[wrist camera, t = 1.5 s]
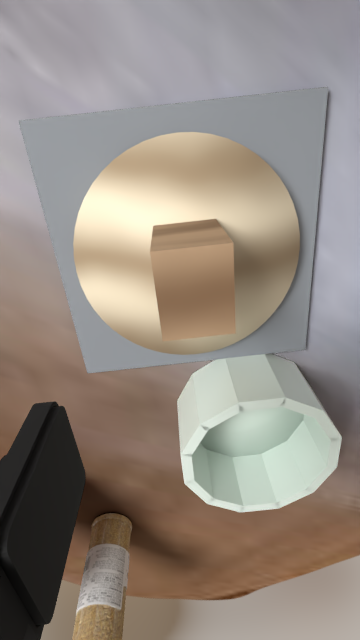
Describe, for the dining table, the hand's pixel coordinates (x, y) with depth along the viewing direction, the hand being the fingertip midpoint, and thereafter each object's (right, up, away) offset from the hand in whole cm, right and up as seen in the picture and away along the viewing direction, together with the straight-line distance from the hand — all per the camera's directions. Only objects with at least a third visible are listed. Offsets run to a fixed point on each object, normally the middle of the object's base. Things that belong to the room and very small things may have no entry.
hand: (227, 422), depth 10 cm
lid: (-1, +8, +14) cm, 16 cm away
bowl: (+4, -5, +21) cm, 22 cm away
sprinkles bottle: (-9, -20, +28) cm, 36 cm away
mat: (-1, +8, +14) cm, 16 cm away
